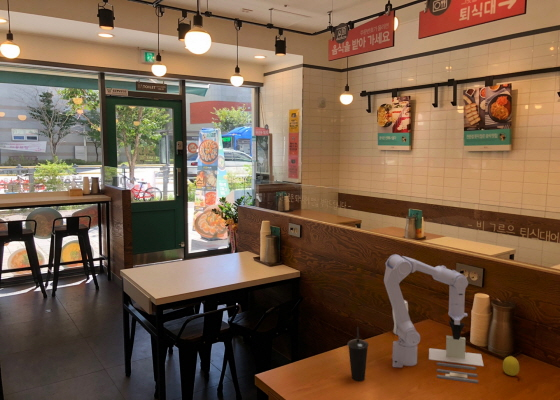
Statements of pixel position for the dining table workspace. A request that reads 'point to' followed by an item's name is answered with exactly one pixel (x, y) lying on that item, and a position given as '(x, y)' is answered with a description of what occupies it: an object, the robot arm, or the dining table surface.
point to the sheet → (455, 347)
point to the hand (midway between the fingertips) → (455, 335)
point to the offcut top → (458, 375)
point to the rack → (456, 372)
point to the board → (469, 358)
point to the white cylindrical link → (395, 317)
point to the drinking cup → (358, 357)
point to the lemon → (511, 366)
